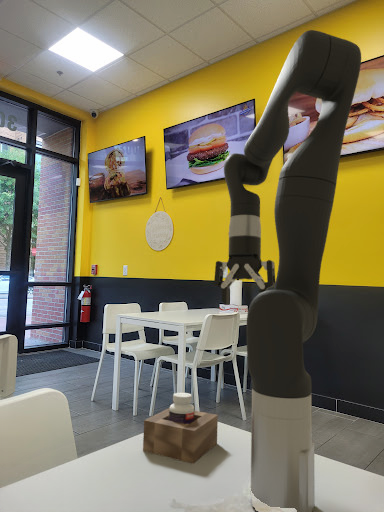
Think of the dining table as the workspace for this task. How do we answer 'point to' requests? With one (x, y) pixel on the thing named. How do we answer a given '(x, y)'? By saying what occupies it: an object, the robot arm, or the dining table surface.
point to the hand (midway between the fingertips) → (243, 305)
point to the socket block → (180, 436)
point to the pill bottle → (181, 408)
